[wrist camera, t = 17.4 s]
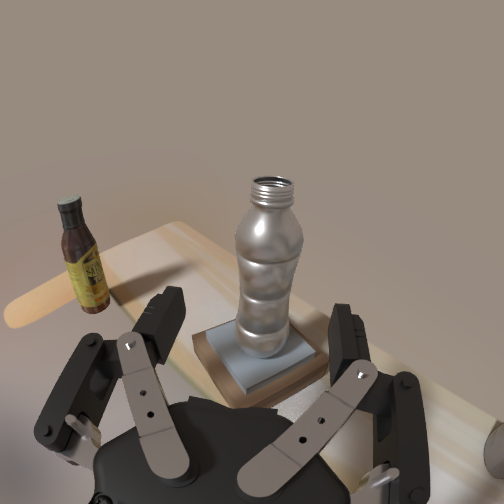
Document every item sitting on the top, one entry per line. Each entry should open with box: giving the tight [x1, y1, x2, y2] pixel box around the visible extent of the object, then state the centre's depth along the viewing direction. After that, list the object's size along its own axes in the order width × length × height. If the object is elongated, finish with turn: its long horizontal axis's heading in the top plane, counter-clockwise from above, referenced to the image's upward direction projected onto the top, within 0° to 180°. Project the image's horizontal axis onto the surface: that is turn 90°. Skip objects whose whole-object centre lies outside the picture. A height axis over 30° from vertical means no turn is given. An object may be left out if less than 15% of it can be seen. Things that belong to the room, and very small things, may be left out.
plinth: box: [192, 319, 330, 409], centre depth 35 cm, size 13×13×5 cm
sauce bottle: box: [57, 195, 110, 314], centre depth 39 cm, size 6×6×20 cm
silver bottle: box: [234, 176, 303, 358], centre depth 28 cm, size 6×7×20 cm
